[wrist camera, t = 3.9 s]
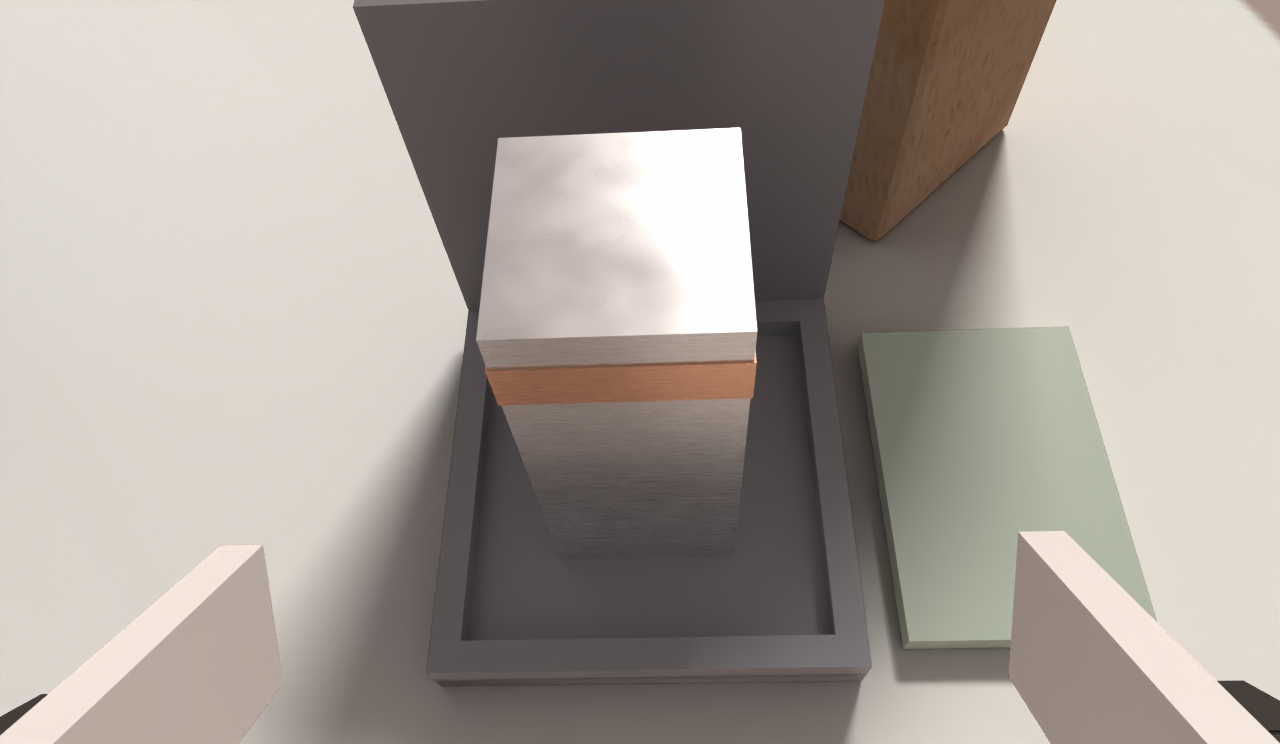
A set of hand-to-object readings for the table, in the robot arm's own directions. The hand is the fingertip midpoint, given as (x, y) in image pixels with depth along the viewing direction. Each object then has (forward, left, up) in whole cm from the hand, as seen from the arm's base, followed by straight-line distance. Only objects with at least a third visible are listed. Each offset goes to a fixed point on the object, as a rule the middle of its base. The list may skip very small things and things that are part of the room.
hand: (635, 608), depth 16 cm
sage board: (+12, +9, -15) cm, 22 cm away
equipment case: (0, +9, -15) cm, 18 cm away
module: (0, +9, -14) cm, 17 cm away
